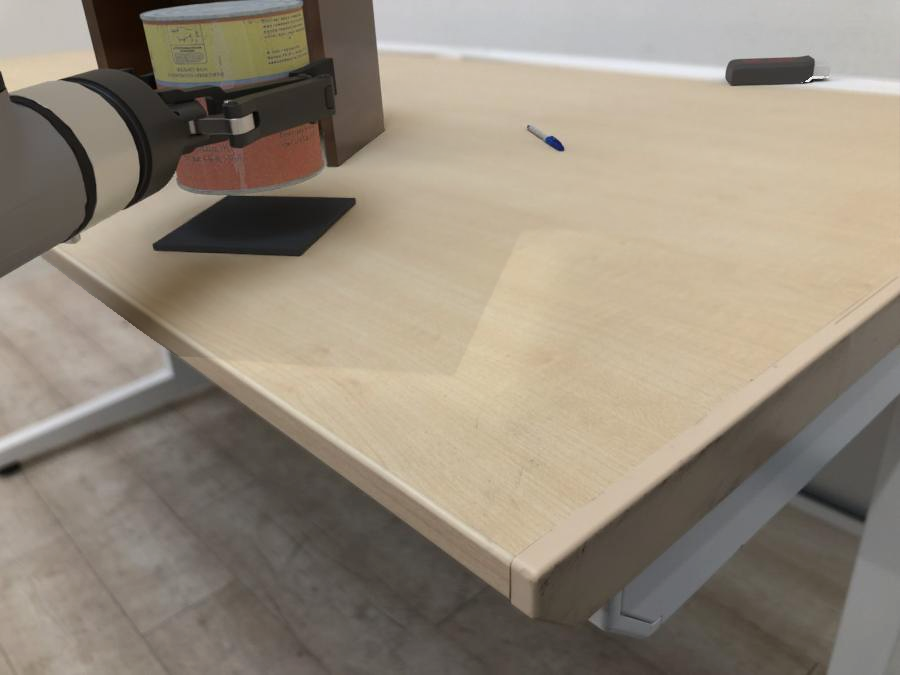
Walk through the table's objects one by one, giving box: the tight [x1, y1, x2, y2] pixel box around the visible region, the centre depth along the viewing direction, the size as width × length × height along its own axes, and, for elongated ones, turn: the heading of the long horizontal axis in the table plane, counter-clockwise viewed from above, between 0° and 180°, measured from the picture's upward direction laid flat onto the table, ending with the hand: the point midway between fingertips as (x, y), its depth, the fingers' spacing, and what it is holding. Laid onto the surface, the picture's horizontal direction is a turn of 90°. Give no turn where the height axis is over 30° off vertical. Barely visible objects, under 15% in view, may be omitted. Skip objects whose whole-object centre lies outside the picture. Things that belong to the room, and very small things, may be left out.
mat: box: [151, 194, 357, 257], centre depth 64 cm, size 12×12×1 cm
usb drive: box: [724, 55, 832, 86], centre depth 103 cm, size 5×12×3 cm, turn 81°
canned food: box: [140, 0, 326, 196], centre depth 60 cm, size 11×11×12 cm
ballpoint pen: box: [526, 124, 565, 152], centre depth 84 cm, size 10×1×1 cm, turn 15°
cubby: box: [80, 0, 386, 167], centre depth 83 cm, size 24×15×22 cm, turn 76°
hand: (260, 77), depth 63 cm, fingers closed on canned food, 11 cm apart
